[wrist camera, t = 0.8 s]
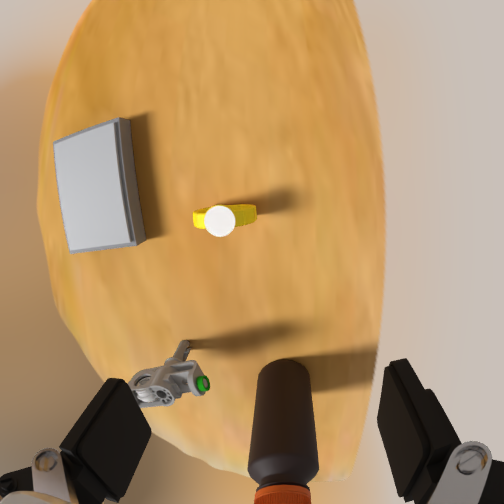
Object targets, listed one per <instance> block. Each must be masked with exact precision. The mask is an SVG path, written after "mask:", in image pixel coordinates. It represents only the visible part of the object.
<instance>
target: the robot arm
mask: <svg viewBox="0 0 504 504" xmlns="http://www.w3.org/2000/svg"><path fill="white" fill-rule="evenodd" d="M377 423H378V428H379V431H380V434H381V437H382V440H383V444H384V447H385V450H386V453H387V457H388V461H389V464H390V467H391V471H392V475H393V478H394V482H395V486H396V489H397V493H398V496H399V497H403V496H404V500H405V502H409V501H412V500H414V503H415V504H504V462H501V461H497V460H493V459H492V455H491V451H490V450H489V449H488V447H487V446H485V445H484V444H483V443H480V442H476V441H470V442H465V443H463V444H462V443H461V441H460V440H459V438H458V436H457V434H456V432H455V430H454V428H453V426H452V424H451V422H450V421H449V419H448V417H447V415H446V413H445V412H444V410H443V408H442V406H441V404H440V403H439V401H438V399H437V397H436V396H435V394H434V393H433V391H432V390H431V389H424V387H423V386H422V384H421V382H420V380H419V379H418V377H417V375H416V373H415V372H414V370H413V368H412V367H411V365H410V363H409V361H408V360H407V359H406V358H405V359H400V360H396V361H391V362H390V364H389V366H387V367H385V370H384V377H383V385H382V392H381V398H380V404H379V410H378V416H377ZM150 436H151V428H150V426H149V424H148V422H147V420H146V419H145V417H144V415H143V413H142V411H141V409H140V407H139V405H138V403H137V401H136V399H135V397H134V395H133V393H132V391H131V389H130V387H129V385H128V384H127V383H126V382H125V381H124V380H123V379H116V378H108V379H107V380H106V382H105V383H104V385H103V386H102V387H101V389H100V390H99V392H98V393H97V394H96V395H95V397H94V398H93V400H92V401H91V402H90V404H89V405H88V406H87V408H86V409H85V411H84V412H83V413H82V415H81V416H80V418H79V419H78V421H77V422H76V423H75V425H74V426H73V428H72V429H71V430H70V432H69V433H68V435H67V436H66V438H65V439H64V440H63V442H62V443H61V445H60V446H59V448H60V449H61V450H62V451H61V452H60V453H59V452H58V451H57V450H55V449H53V448H45V449H42V450H40V451H39V452H37V453H36V455H35V456H34V457H33V459H32V466H31V467H28V468H24V469H21V470H18V471H14V472H10V473H7V474H4V475H3V476H1V477H0V504H104V502H103V501H104V499H105V498H106V499H108V500H110V501H114V502H117V503H118V502H119V500H120V498H121V497H123V496H124V495H125V493H126V490H127V488H128V486H129V484H130V482H131V479H132V477H133V475H134V473H135V470H136V468H137V466H138V464H139V461H140V459H141V457H142V455H143V452H144V450H145V448H146V446H147V443H148V441H149V439H150Z"/></svg>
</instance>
